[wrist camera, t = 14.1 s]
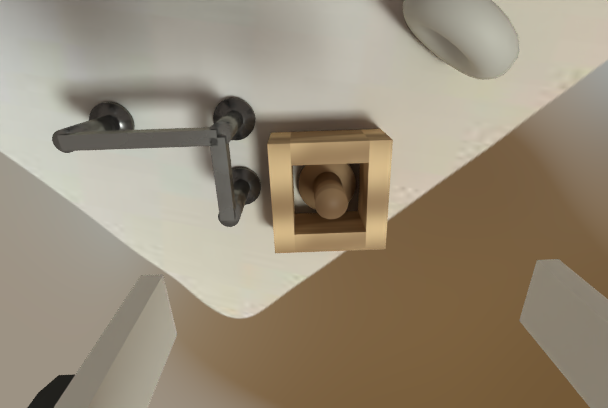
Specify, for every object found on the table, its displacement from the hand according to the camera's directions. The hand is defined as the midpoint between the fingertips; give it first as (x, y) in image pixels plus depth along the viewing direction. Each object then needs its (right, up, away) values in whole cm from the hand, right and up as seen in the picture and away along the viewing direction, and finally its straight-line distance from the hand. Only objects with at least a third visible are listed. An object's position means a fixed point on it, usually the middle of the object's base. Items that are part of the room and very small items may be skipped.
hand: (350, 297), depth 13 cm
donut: (+10, +19, +20) cm, 29 cm away
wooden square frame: (+1, +6, +25) cm, 26 cm away
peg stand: (+1, +6, +25) cm, 26 cm away
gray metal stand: (-14, +8, +24) cm, 29 cm away
